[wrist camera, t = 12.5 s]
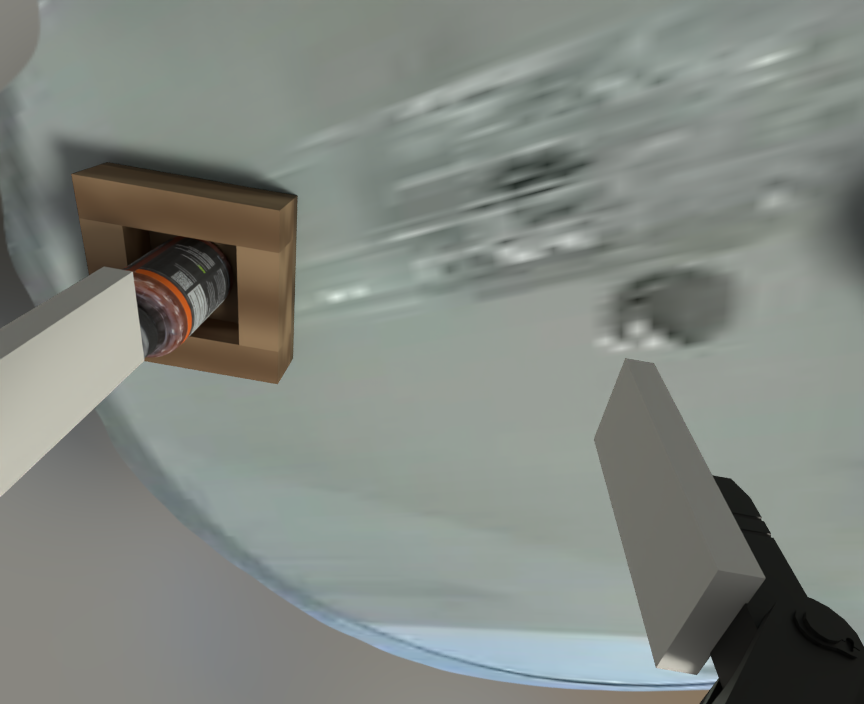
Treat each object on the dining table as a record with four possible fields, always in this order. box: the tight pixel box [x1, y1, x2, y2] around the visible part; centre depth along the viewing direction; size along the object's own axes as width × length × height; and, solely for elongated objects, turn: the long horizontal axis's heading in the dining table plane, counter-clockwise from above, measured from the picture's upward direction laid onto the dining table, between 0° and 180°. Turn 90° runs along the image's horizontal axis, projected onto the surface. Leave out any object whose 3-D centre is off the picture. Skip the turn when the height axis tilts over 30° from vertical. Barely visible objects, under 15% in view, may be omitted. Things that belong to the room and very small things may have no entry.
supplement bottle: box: [122, 236, 233, 358], centre depth 38 cm, size 6×6×11 cm
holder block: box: [71, 162, 297, 384], centre depth 42 cm, size 14×14×4 cm
